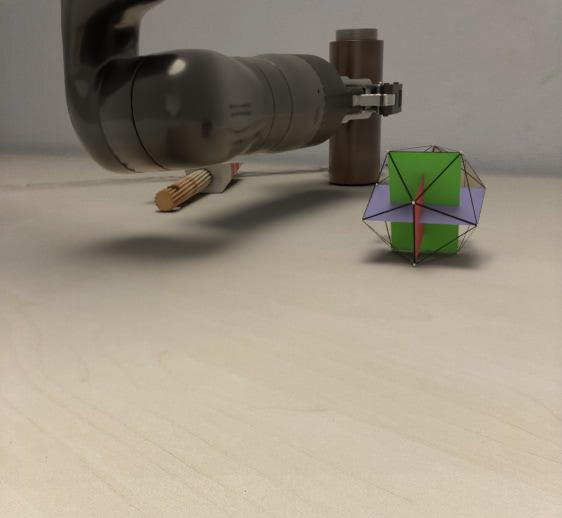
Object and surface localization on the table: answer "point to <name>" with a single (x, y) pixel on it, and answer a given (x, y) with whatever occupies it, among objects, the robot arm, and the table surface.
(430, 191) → the geometric puzzle
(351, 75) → the pepper mill
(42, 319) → the table surface
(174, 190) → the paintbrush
